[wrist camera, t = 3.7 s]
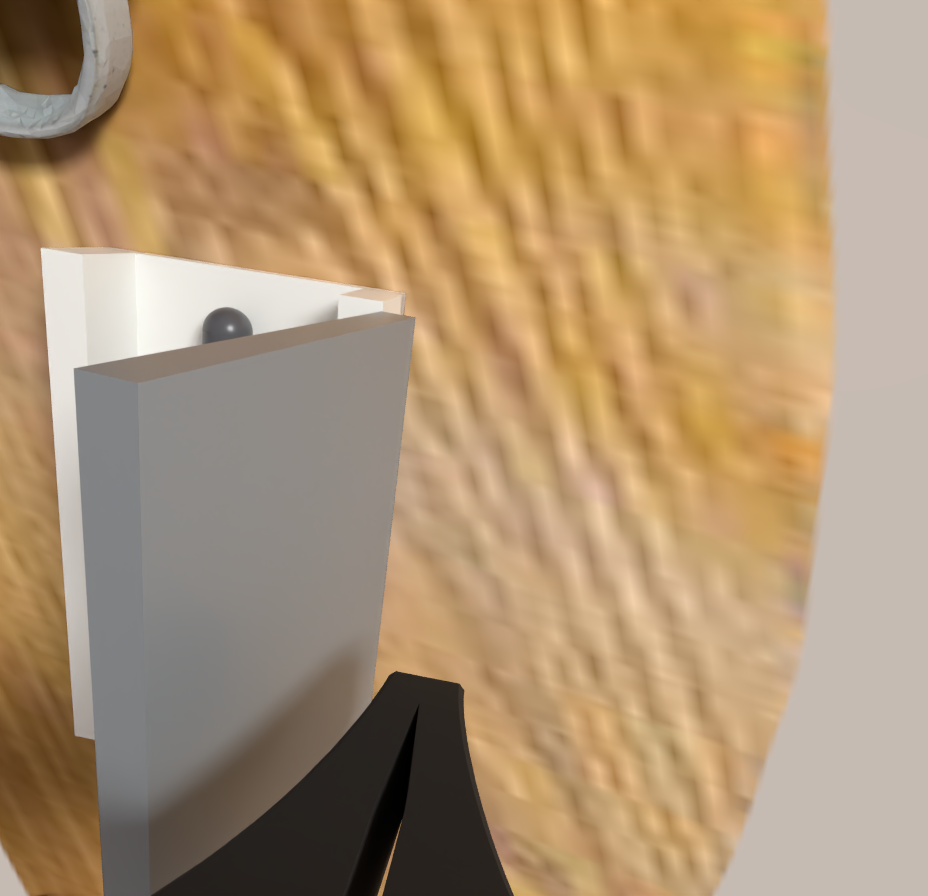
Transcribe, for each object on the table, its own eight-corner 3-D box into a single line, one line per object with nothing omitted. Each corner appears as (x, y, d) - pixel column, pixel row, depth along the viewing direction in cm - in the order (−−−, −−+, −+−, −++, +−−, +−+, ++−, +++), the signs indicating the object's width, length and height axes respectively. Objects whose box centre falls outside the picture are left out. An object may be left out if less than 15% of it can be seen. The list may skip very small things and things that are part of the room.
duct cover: (334, 787, 18) (360, 796, 18) (118, 1140, 11) (156, 1162, 11) (381, 311, 14) (415, 317, 14) (74, 368, 7) (137, 382, 6)
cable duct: (359, 727, 21) (335, 789, 18) (126, 681, 21) (74, 735, 19) (406, 293, 16) (383, 301, 14) (110, 247, 17) (40, 247, 15)
